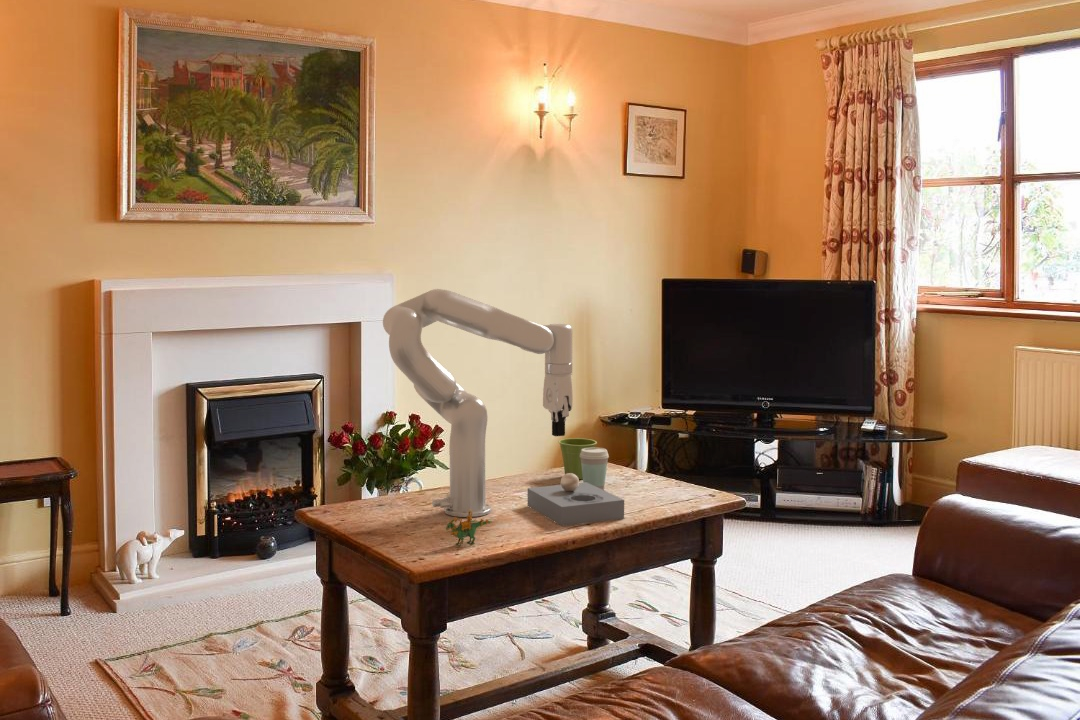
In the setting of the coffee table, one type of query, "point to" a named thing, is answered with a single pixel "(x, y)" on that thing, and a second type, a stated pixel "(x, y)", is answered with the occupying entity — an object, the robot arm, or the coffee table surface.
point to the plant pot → (574, 454)
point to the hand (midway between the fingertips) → (558, 435)
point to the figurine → (465, 528)
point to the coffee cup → (594, 466)
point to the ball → (569, 482)
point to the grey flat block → (576, 504)
